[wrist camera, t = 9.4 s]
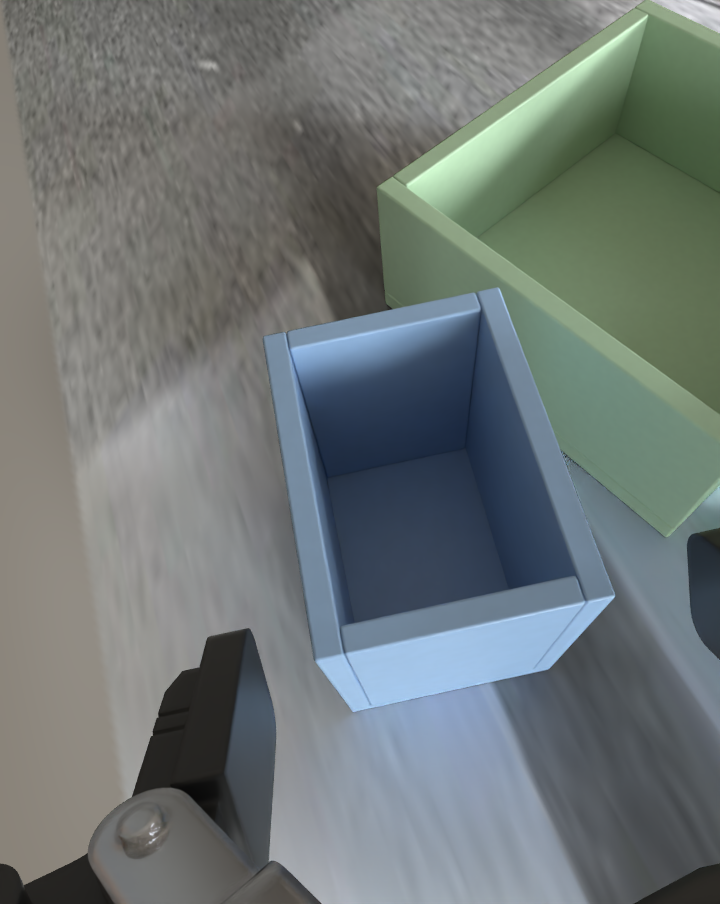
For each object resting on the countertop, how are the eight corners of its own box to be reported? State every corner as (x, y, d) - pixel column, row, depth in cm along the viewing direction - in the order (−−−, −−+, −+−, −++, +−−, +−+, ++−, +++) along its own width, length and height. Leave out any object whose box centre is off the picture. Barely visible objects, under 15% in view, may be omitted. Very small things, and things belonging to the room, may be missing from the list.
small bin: (352, 712, 20) (313, 662, 13) (309, 474, 24) (261, 335, 17) (550, 669, 20) (617, 597, 13) (476, 438, 24) (499, 285, 17)
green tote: (665, 539, 22) (740, 457, 17) (384, 303, 27) (375, 186, 22) (900, 304, 25) (1022, 175, 20) (608, 134, 30) (647, -3, 25)
